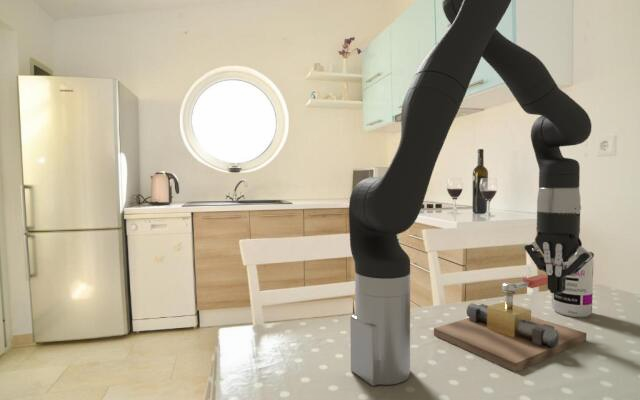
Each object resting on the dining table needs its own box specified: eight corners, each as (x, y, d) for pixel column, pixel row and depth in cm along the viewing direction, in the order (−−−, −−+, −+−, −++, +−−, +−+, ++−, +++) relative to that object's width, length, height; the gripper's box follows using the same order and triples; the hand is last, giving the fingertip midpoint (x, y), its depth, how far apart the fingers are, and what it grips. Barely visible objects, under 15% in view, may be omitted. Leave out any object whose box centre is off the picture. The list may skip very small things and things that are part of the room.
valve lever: (511, 294, 75) (511, 286, 75) (499, 291, 77) (499, 283, 77) (551, 283, 83) (551, 276, 83) (539, 281, 85) (539, 274, 85)
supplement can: (578, 307, 96) (580, 248, 95) (599, 318, 87) (601, 255, 87) (545, 306, 96) (546, 248, 96) (562, 317, 88) (564, 254, 88)
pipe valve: (545, 355, 68) (546, 308, 68) (462, 324, 84) (463, 285, 83) (562, 348, 71) (563, 302, 71) (479, 319, 87) (479, 281, 86)
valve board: (515, 372, 64) (515, 363, 64) (433, 335, 79) (433, 328, 79) (586, 340, 76) (586, 333, 76) (503, 313, 91) (503, 307, 91)
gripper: (516, 208, 81) (515, 288, 82) (585, 213, 69) (583, 305, 70) (535, 207, 85) (534, 283, 86) (604, 211, 73) (601, 298, 74)
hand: (556, 292), depth 78 cm, fingers closed
